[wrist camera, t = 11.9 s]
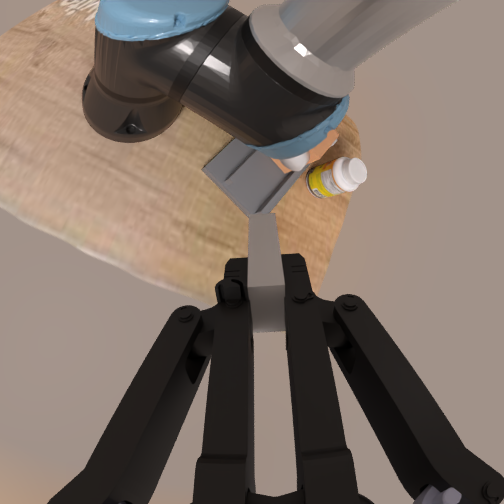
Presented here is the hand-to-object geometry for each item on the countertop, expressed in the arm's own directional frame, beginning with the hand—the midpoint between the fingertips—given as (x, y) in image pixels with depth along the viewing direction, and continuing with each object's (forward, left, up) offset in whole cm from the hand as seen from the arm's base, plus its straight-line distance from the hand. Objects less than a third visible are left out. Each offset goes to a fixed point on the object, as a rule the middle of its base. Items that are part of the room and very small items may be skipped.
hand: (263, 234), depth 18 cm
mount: (+1, +19, -25) cm, 32 cm away
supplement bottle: (+10, +25, -26) cm, 37 cm away
